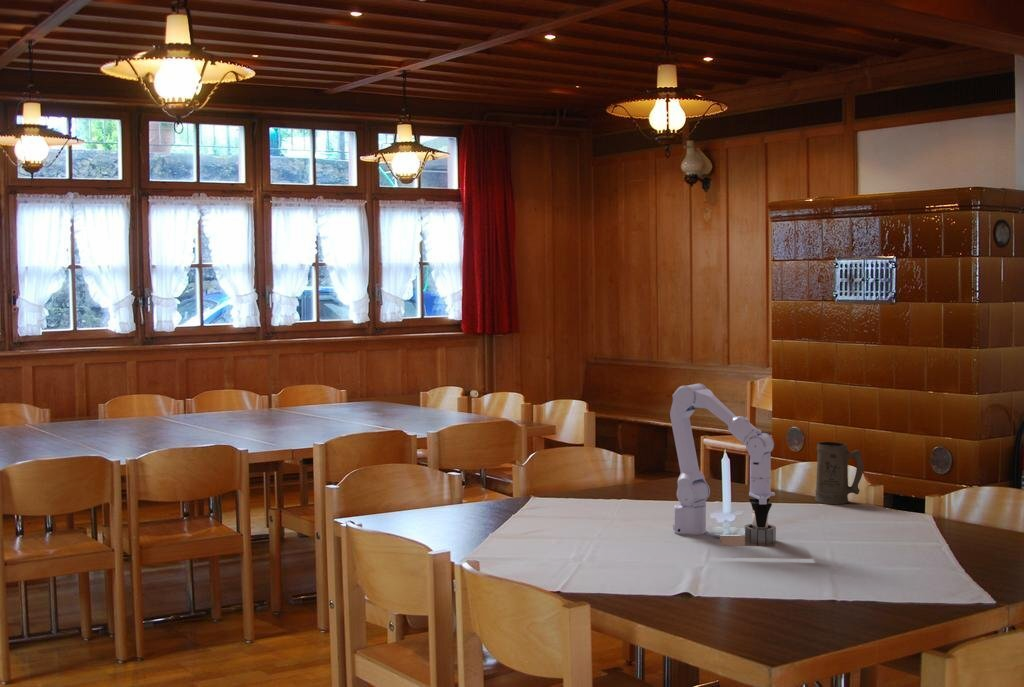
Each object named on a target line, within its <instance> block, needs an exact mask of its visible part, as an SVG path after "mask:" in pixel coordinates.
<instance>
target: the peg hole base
mask: <svg viewBox="0 0 1024 687" xmlns="http://www.w3.org/2000/svg"><path fill="white" fill-rule="evenodd" d="M776 536H777V528H776V526H775V525H772V524H769V523H768V529H754V528H752V523H749V524H746V525H744V535H740V536H720V534H718V538H719V540H720V543H721V546H724V547H725V546H726V547H728V546H729V547H736V546H737V547H778V545H777V543H776V541H777V537H776Z"/></svg>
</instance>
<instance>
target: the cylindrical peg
mask: <svg viewBox="0 0 1024 687" xmlns="http://www.w3.org/2000/svg"><path fill="white" fill-rule="evenodd" d="M751 511H752V512H751V517H752V518H751V524H752V528H754V529H768V524H769V515H768V516H767V521H766V526H765V527H757V524H756V517H755V512H754V510H753V509H752V510H751Z"/></svg>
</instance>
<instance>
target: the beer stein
mask: <svg viewBox="0 0 1024 687" xmlns="http://www.w3.org/2000/svg"><path fill="white" fill-rule="evenodd" d="M816 452H817V456H816V457H817V458H816V459H817V462H816V463H817V465H816V482H815V483H816V486H815V497H814V501H815V502H816V503H819V504H825V505H845V504H848V503H849V498H848V497H849V496H848V495H849V494H855V495H859V494H860V492H861V490H860V488H859V483H860V481H861V480H862V476H863V473H864V463H863V459H862V457H861V450H860V449H859V450H858V449H855V450H853V451H849V449H848V445H847V443H844V442H836V441H835V442H834V441H820V442H818V443H817V445H816ZM851 458H852V459H854V461H855V462H856V472H855V476H854V479H853V482H852V484H851V486H849V477H848V476H849V475H848V474H849V472H848V468H849V467H848V459H851Z"/></svg>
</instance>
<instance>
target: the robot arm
mask: <svg viewBox="0 0 1024 687" xmlns="http://www.w3.org/2000/svg"><path fill="white" fill-rule="evenodd" d="M673 392H674V393H673V394H672V396H671V397H672V403H671V408H670V411H669V415H670V417H669V418H670V422H671V427H672V434H673V438H674V444H675V450H676V454H677V455H676V456H677V460H678V466H679V472H680V474H679V476H678V479H677V483H676V484H677V489H676V498H677V500H678V502H679V503H680V504H674V506H673V524H672V530H673V531H674V534H675V535H703V534H706V532H707V500H708V498H709V497H710V495H711V488H710V486H709V484H708V483H707V481H706V478H705V475H704V473H703V472H702V471H701V470H700V468H699V461H698V456H697V452H696V445H695V440H694V435H693V429H692V425H691V424H692V423H691V420H690V418H691V416H692V415H693V414H694V412H695V411H696V410H697V409H706V410H708V411H709V412H711V413H712V415H714V416H716V417H717V418H718V419H720V420H721V421H722V422H723V423H724V424H726V425H727V428H728V431H729V433H730V434H732V436H734V437H735V438H736V439H737V440H738V441H739V442H741V443H742V444H743V445H744V446H745V448H746V452H747V453H748V455H749V492H748V496H750V497H749V498H748V500H749V502H750V505H751V508H752V511H753V510H754V512H755V517H756V524H757V527H765V526H766V521H767V516H768V517H769V512H770V510H771V508H772V507H773V503H772V502H769V501H770V497H774V496H776V492H773V491H771V490H772V489H771V485H772V484H771V483H772V482H771V479H772V478H771V477H772V476H771V475H772V472H771V471H772V469H771V465H772V463H771V461H772V460H771V459H772V458H771V453H772V451H773V450H774V447H775V441H774V439H773V437H772V436H771V435H770V434H769V433H766V432H762V430H761V428H759V429H758V428H757V427H755V426H754V425H753V424H752V423H751V422H750V419H749V418H748V417H747V416H745V417H744V416H742V415H739V416H736V415H735V414H734V413H733V412H732V411H731V410H730V409H729V408H728V407H727V406H726V405H725V404H724V403H723V402H722V401H721V400H719V399H718V397H717V396H716V395H715V394H714V393H713V391H712V390H711V389H709V388H707V386H705V385H704V384H703V383H699V382H698V383H694V384H689V385H681V386H678V387H677V388H676V390H675V391H673Z"/></svg>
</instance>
